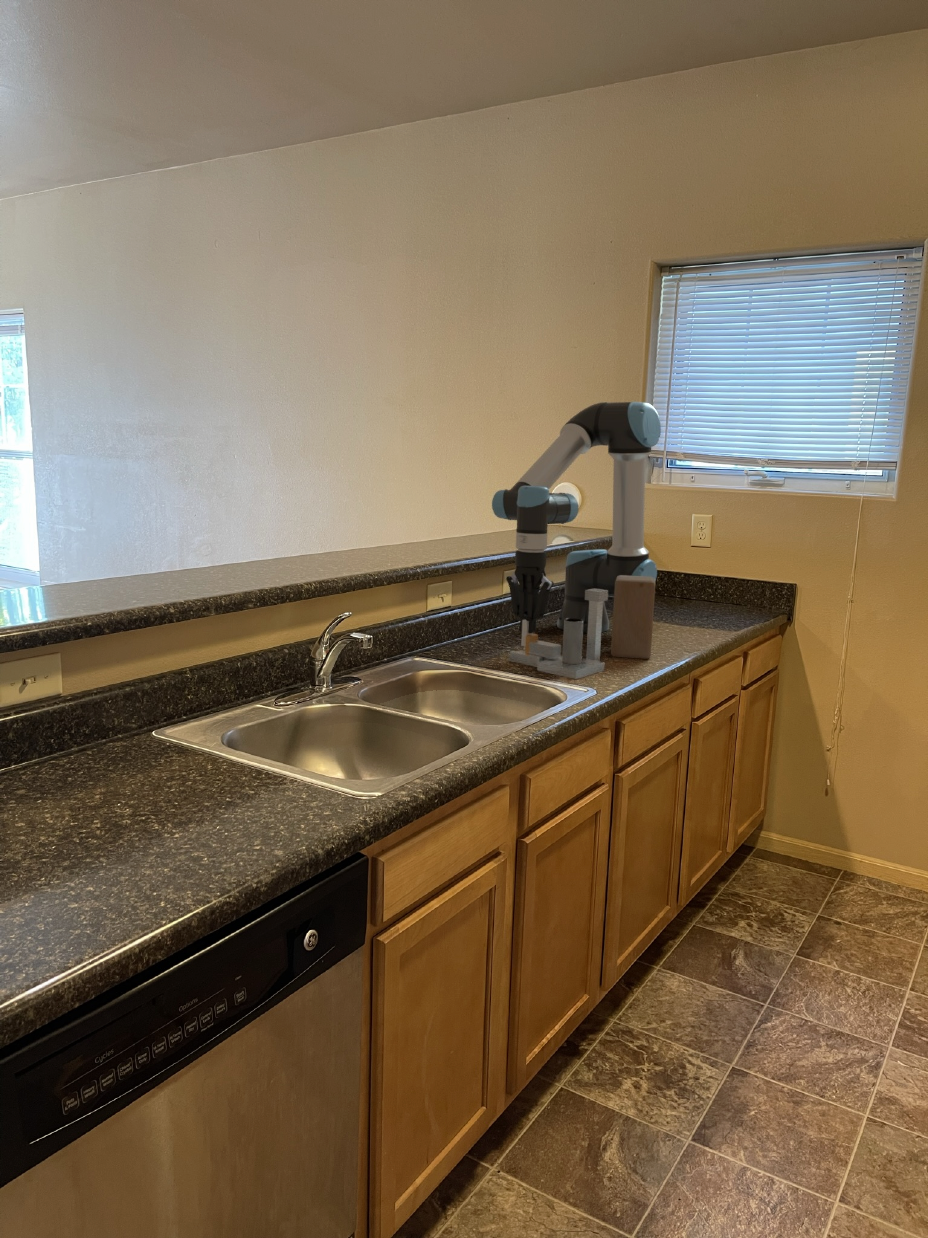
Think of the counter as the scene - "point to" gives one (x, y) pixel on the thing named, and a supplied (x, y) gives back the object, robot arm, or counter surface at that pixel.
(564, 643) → the grey hollow tube
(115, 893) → the counter surface
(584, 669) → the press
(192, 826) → the counter surface
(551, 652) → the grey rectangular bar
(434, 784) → the counter surface
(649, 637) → the wooden block
